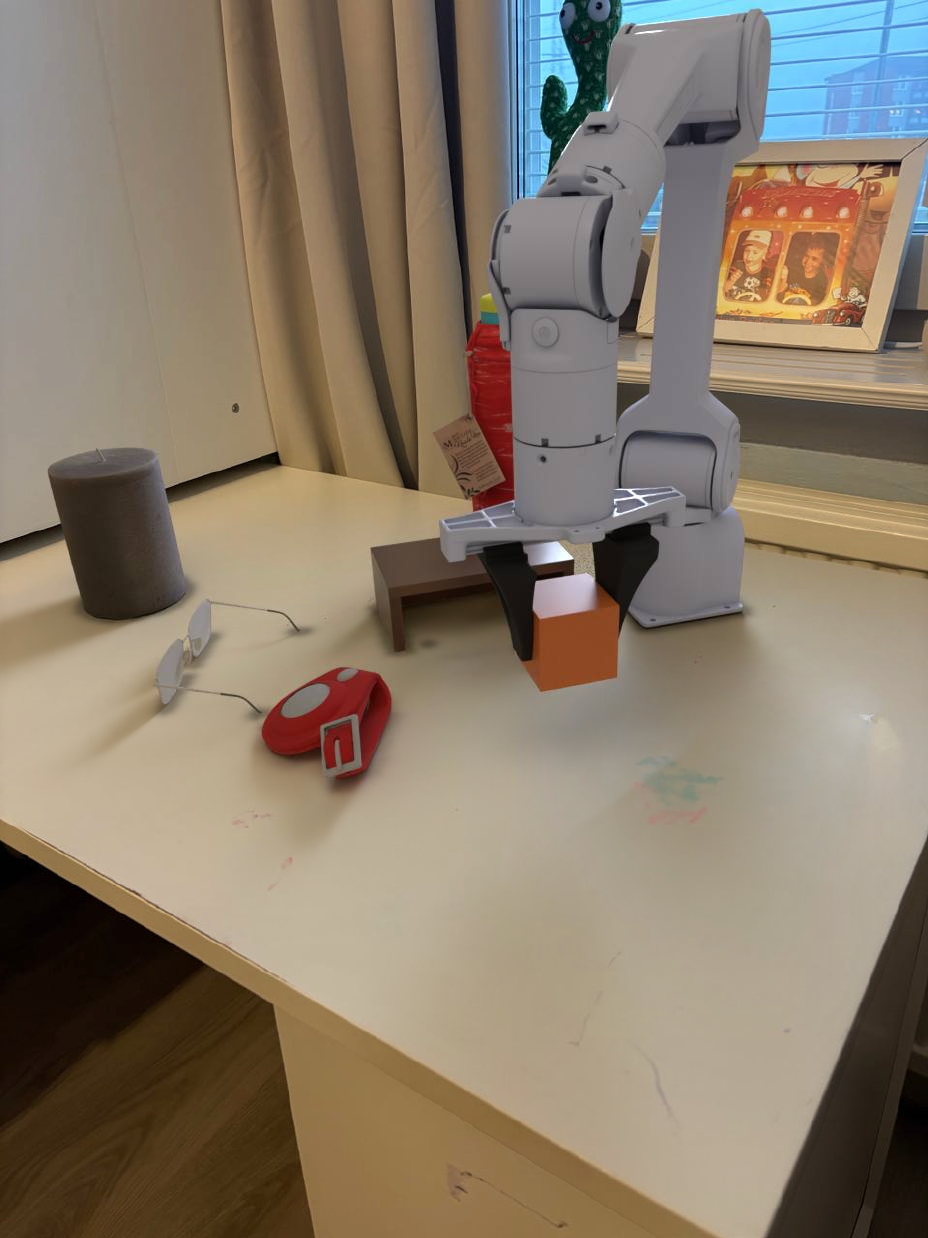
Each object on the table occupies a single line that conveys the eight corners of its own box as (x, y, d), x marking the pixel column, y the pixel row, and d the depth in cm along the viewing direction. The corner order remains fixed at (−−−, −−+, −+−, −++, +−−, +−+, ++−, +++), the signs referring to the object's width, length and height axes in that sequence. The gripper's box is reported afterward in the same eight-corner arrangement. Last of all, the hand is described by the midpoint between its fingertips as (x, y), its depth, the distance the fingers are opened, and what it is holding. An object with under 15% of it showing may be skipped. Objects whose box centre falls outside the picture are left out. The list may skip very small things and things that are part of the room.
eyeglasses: (213, 630, 81) (208, 590, 79) (302, 635, 81) (299, 595, 79) (157, 717, 69) (150, 672, 67) (261, 724, 68) (257, 678, 66)
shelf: (540, 581, 87) (540, 522, 84) (574, 621, 79) (574, 558, 76) (376, 607, 84) (370, 547, 81) (394, 652, 76) (388, 587, 73)
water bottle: (474, 570, 90) (461, 306, 78) (431, 546, 96) (413, 298, 84) (567, 539, 96) (568, 290, 84) (521, 518, 101) (516, 283, 90)
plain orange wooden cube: (587, 640, 60) (588, 572, 58) (617, 678, 56) (619, 605, 53) (515, 653, 59) (513, 584, 57) (540, 692, 55) (539, 619, 52)
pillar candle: (107, 630, 82) (65, 471, 75) (68, 598, 89) (26, 449, 82) (205, 595, 88) (174, 444, 81) (161, 567, 94) (129, 426, 87)
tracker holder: (228, 727, 65) (324, 644, 70) (258, 773, 67) (349, 688, 72) (328, 758, 56) (429, 660, 61) (359, 809, 58) (454, 710, 63)
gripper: (455, 471, 45) (469, 699, 52) (718, 436, 48) (700, 656, 55) (425, 434, 51) (440, 642, 58) (660, 405, 54) (650, 606, 61)
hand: (564, 646), depth 57 cm, fingers closed on plain orange wooden cube, 5 cm apart
